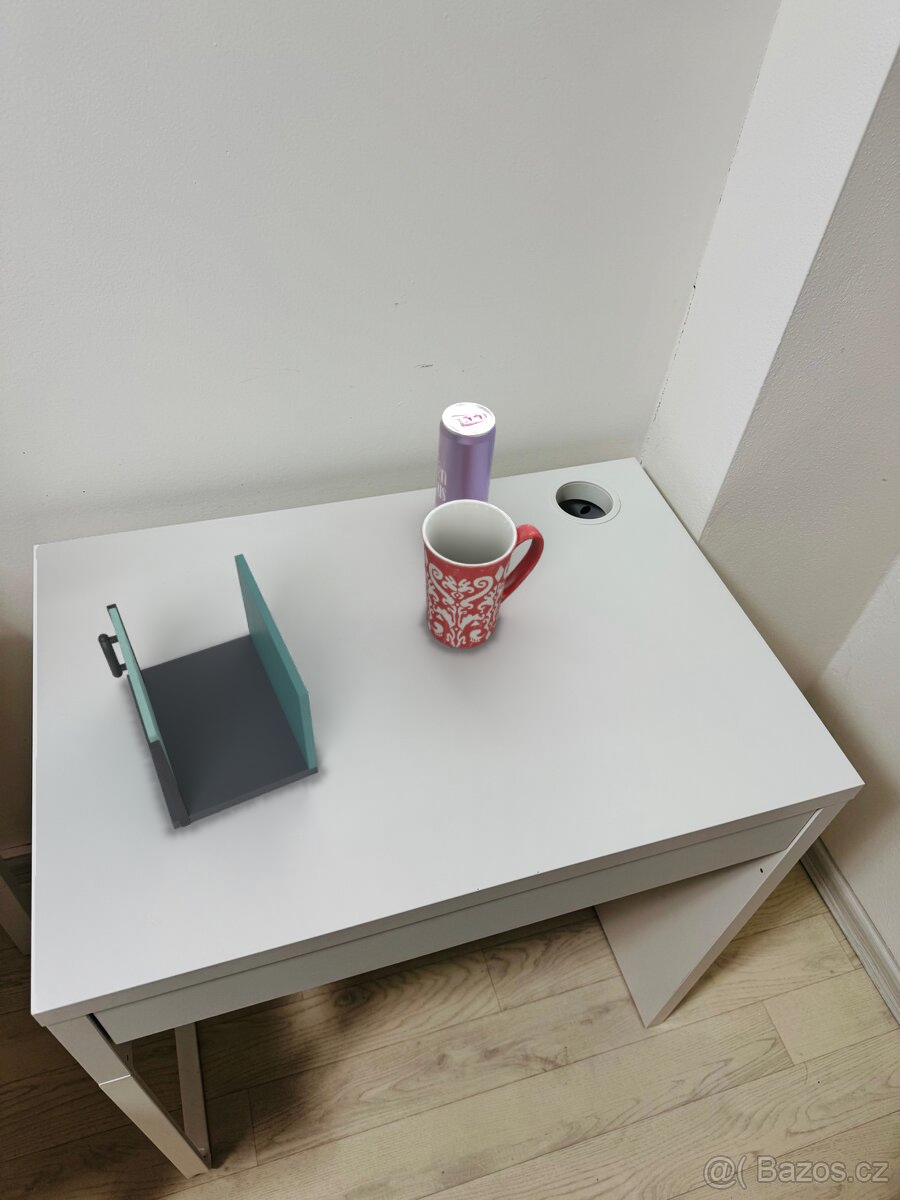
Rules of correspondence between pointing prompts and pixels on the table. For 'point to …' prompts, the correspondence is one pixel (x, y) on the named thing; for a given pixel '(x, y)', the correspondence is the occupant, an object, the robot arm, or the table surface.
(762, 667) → the table surface
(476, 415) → the beverage can
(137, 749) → the table surface
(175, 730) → the shower stall
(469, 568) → the mug
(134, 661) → the shower door
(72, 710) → the table surface
